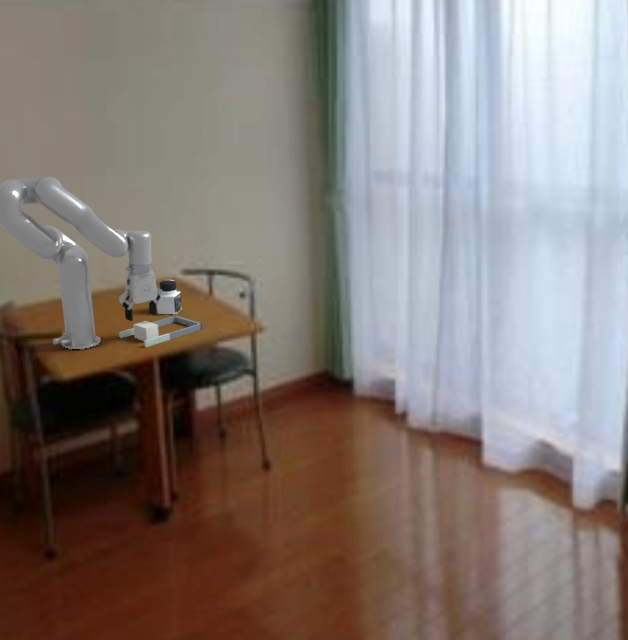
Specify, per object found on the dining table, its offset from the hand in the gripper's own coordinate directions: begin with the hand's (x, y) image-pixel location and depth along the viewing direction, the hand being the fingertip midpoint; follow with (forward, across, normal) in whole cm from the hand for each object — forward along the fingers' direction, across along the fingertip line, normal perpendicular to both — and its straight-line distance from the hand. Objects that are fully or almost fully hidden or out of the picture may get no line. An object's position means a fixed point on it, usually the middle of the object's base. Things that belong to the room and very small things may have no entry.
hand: (141, 317), depth 285 cm
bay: (+7, +8, -1) cm, 11 cm away
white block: (+8, +2, -1) cm, 8 cm away
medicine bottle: (+7, +26, +17) cm, 31 cm away
